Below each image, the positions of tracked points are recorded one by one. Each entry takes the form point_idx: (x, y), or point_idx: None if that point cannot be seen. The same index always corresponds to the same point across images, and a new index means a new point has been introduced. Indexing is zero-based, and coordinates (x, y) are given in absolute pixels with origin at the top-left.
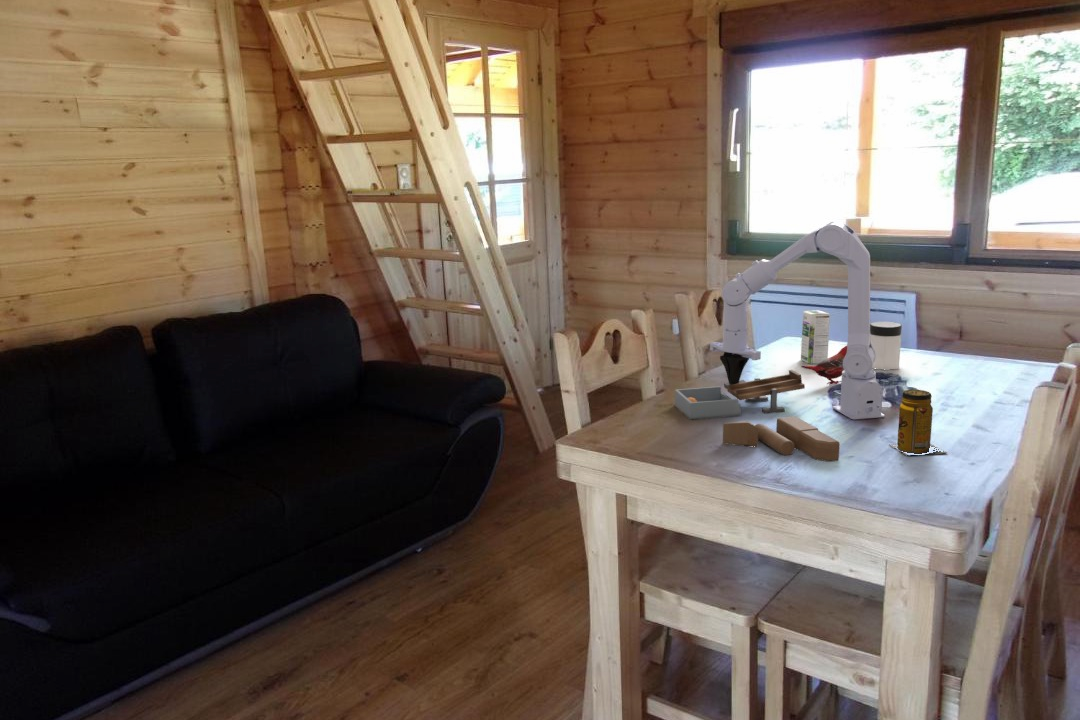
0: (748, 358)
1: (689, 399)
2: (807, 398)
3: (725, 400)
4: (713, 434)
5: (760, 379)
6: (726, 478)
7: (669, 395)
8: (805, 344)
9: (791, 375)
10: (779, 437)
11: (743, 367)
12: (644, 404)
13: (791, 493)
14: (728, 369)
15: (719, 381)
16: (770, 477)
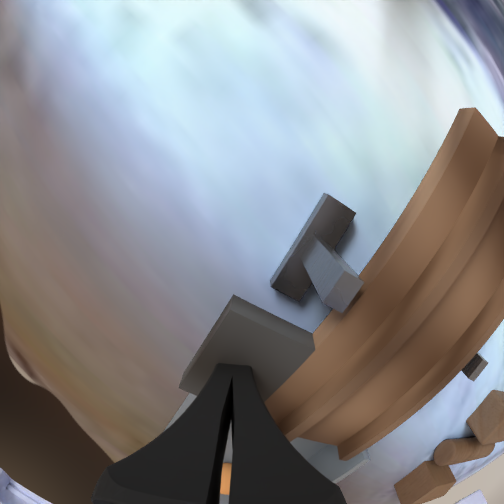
0: (342, 500)
1: (228, 494)
2: (435, 74)
3: (340, 480)
4: (364, 484)
5: (397, 335)
6: None
7: (62, 385)
8: None
9: None
10: (481, 457)
11: (285, 441)
12: (111, 456)
13: (482, 467)
14: (220, 480)
15: (12, 133)
16: (466, 471)
